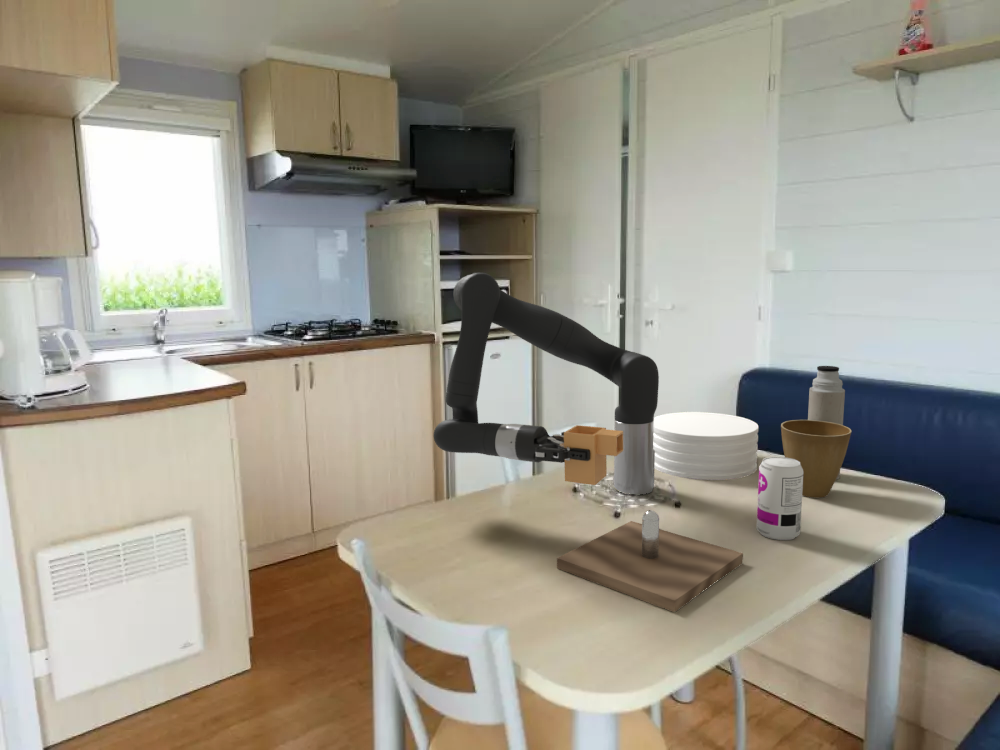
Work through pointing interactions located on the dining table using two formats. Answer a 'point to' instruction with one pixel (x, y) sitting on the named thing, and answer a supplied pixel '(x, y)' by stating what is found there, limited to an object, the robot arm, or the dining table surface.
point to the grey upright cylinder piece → (650, 535)
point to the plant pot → (816, 452)
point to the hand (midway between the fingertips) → (596, 450)
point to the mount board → (651, 565)
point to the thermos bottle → (827, 397)
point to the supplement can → (779, 498)
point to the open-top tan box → (591, 452)
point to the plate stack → (705, 445)
